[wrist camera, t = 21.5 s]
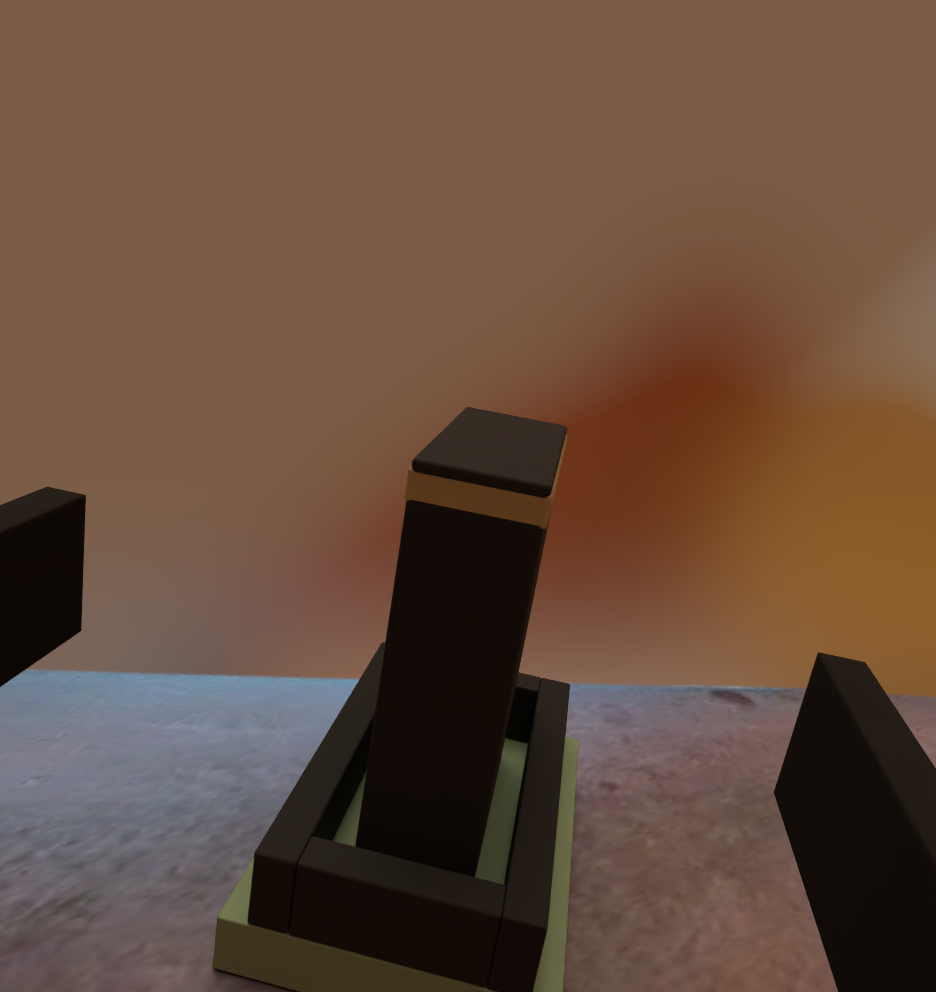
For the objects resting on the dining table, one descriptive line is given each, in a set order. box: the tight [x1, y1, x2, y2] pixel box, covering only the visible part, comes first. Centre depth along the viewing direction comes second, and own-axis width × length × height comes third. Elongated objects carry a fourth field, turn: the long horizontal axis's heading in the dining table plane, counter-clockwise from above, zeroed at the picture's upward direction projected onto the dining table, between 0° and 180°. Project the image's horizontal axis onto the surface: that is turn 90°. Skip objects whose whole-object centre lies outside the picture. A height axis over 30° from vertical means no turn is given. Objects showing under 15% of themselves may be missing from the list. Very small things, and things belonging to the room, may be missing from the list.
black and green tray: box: [213, 643, 579, 992], centre depth 24 cm, size 11×8×4 cm
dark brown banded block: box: [355, 407, 568, 877], centre depth 22 cm, size 7×3×11 cm, turn 171°
